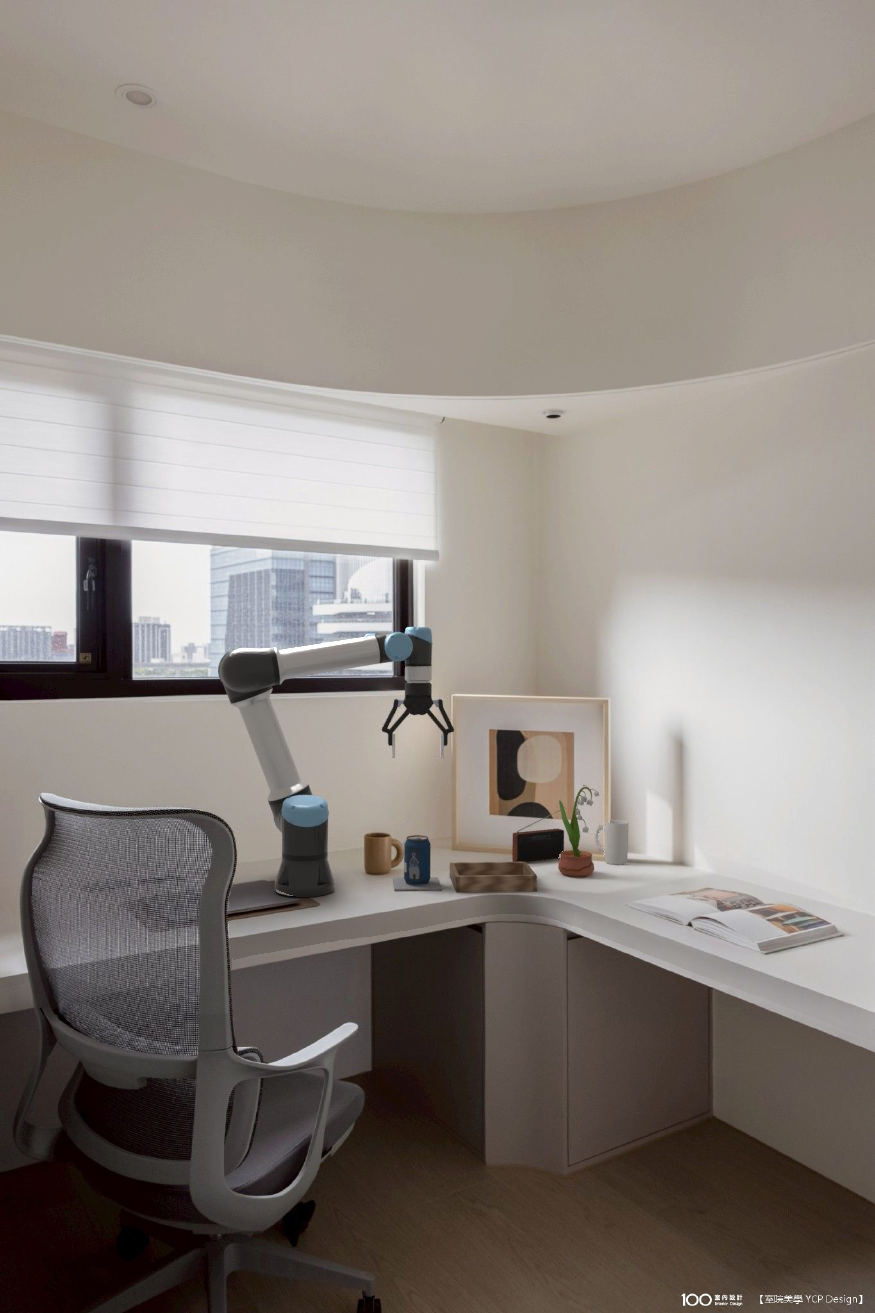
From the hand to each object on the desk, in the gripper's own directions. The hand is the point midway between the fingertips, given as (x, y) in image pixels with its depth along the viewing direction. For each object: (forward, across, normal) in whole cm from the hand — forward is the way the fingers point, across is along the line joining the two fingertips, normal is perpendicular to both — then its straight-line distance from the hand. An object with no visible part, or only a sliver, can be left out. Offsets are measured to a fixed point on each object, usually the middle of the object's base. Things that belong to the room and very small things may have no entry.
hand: (417, 757), depth 255 cm
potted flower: (+32, -45, +6) cm, 55 cm away
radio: (+32, -38, -12) cm, 51 cm away
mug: (+32, -58, -8) cm, 67 cm away
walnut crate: (+32, -19, +16) cm, 40 cm away
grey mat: (+32, +1, +16) cm, 36 cm away
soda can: (+31, +1, +16) cm, 35 cm away
